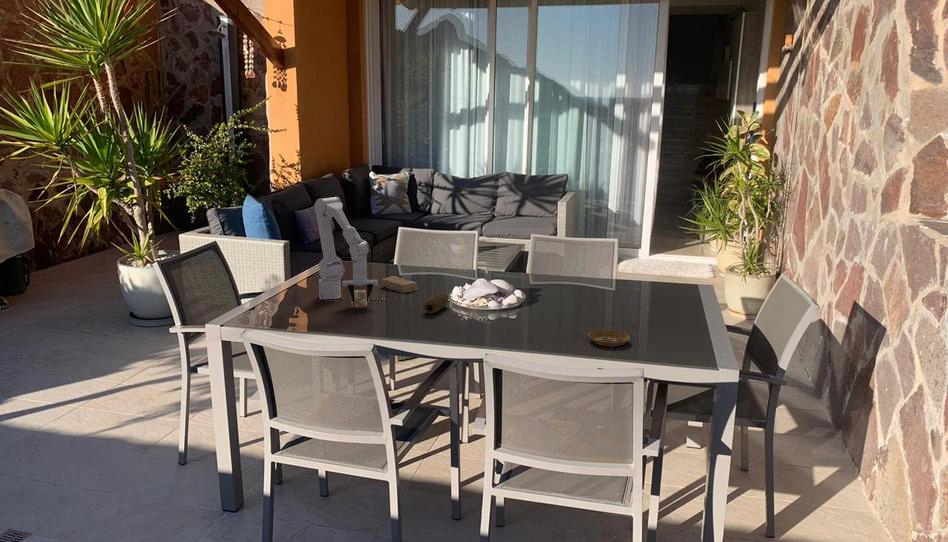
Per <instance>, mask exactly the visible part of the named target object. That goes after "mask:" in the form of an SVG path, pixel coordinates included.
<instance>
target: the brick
mask: <svg viewBox="0 0 948 542" xmlns="http://www.w3.org/2000/svg"><path fill="white" fill-rule="evenodd" d="M380 282H381V287H382V286H383V287H386V288H389V289H392V290H391V291H393V290H396V291H395V292H397V291H400V292H399V293H404V294H407V293H406V292H410V291H414V290H417V291H418V283H417V281H412V280H407V279H405V278H401V277H399V276H396V275H390V276H388V277H384V278H381V281H380ZM383 287H382V288H383ZM389 289H388V290H389ZM410 293H411V292H410Z"/></svg>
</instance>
